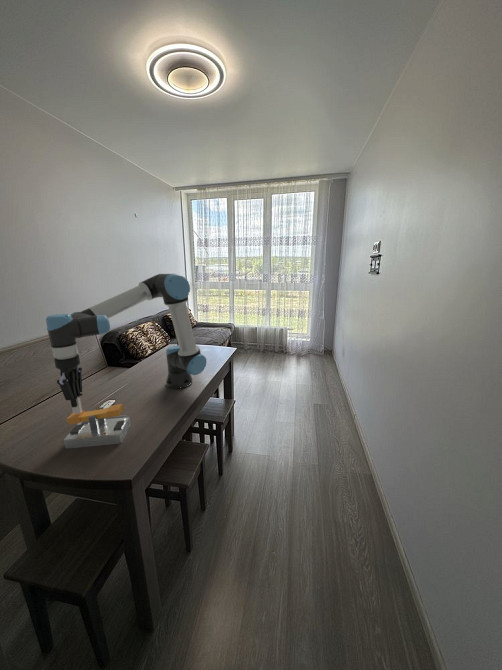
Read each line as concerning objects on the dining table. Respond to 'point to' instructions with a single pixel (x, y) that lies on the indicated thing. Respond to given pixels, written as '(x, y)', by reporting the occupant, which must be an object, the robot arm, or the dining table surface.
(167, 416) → the dining table surface
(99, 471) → the dining table surface
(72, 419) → the lever
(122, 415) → the grey rod
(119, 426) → the grey bracketed base
